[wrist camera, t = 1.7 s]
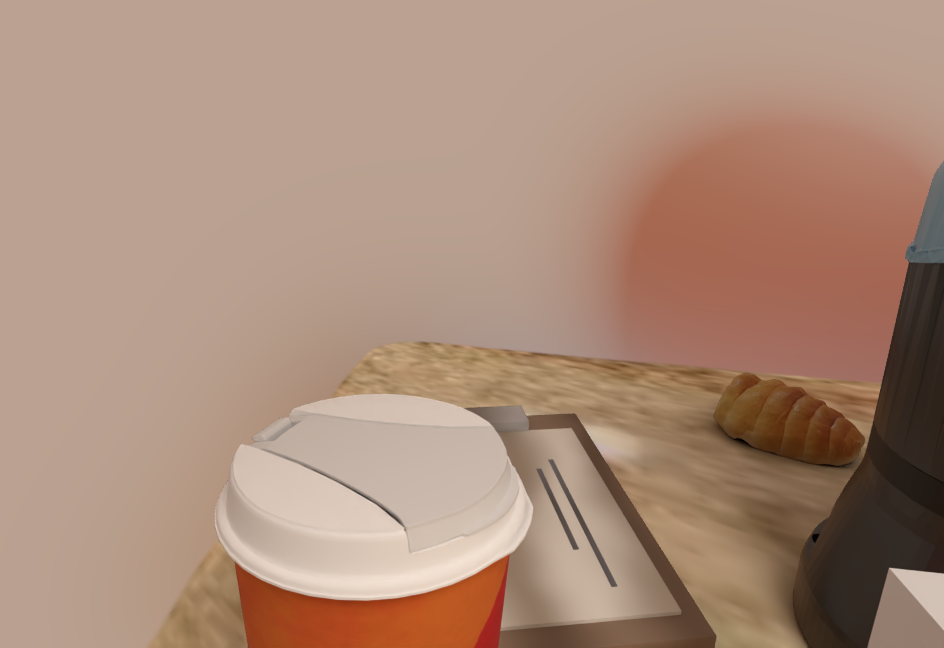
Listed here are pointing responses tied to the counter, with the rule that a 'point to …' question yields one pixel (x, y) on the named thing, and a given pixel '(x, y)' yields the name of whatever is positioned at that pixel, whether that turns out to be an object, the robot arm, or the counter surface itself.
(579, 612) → the brown framed picture
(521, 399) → the counter surface
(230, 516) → the coffee cup
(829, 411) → the pastry
